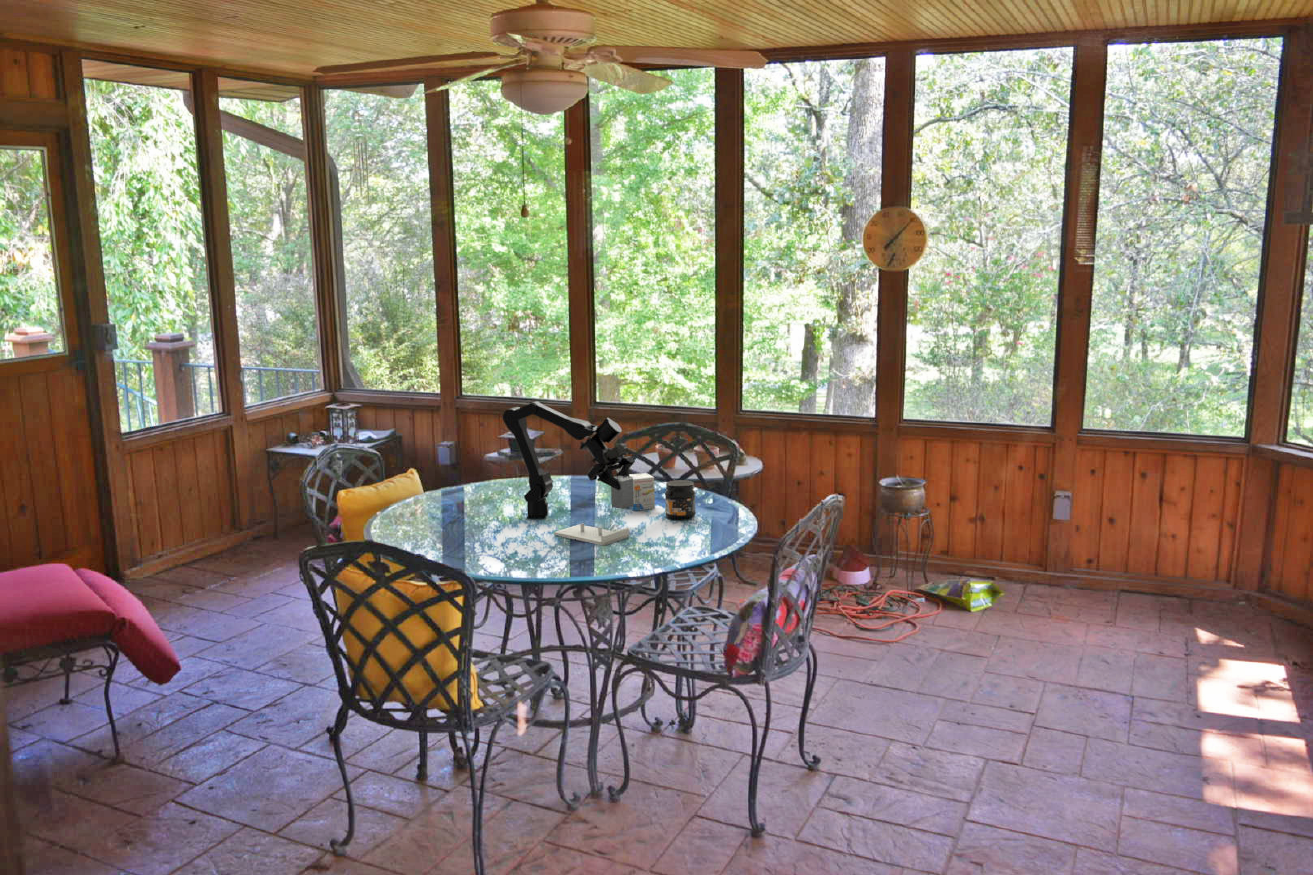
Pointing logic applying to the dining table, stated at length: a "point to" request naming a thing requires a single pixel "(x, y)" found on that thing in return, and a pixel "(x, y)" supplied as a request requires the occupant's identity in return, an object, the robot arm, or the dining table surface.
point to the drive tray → (593, 534)
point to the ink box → (643, 492)
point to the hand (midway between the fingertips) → (625, 487)
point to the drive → (622, 493)
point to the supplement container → (680, 499)
